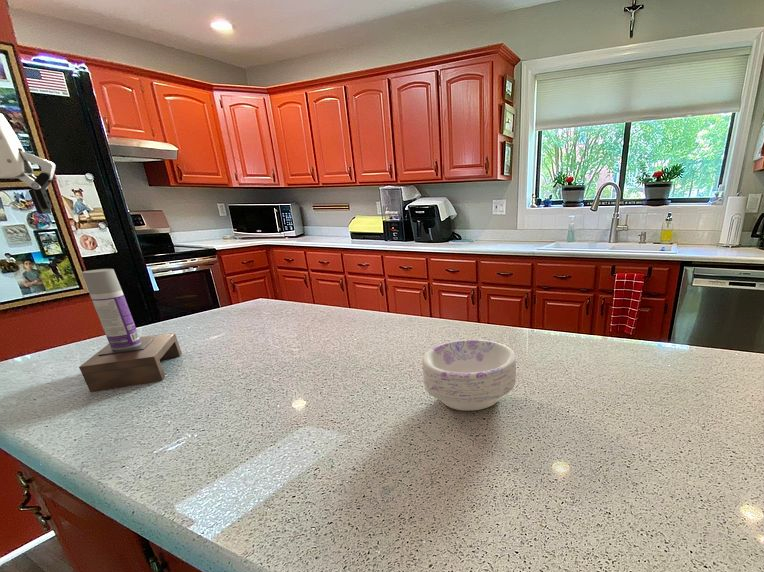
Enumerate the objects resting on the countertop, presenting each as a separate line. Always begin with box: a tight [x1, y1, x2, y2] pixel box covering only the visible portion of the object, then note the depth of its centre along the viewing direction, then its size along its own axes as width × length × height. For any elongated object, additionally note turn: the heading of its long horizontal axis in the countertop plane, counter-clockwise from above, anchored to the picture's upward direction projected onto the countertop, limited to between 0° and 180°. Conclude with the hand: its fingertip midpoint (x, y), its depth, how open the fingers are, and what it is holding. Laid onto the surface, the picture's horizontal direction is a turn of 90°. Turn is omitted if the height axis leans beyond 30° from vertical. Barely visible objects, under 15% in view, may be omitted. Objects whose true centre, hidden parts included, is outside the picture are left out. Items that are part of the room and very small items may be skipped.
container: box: [81, 268, 141, 350], centre depth 76 cm, size 5×5×15 cm
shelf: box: [78, 332, 183, 393], centre depth 80 cm, size 11×16×5 cm
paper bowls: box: [421, 339, 517, 412], centre depth 65 cm, size 15×15×8 cm
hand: (9, 214), depth 70 cm, fingers open, 9 cm apart
